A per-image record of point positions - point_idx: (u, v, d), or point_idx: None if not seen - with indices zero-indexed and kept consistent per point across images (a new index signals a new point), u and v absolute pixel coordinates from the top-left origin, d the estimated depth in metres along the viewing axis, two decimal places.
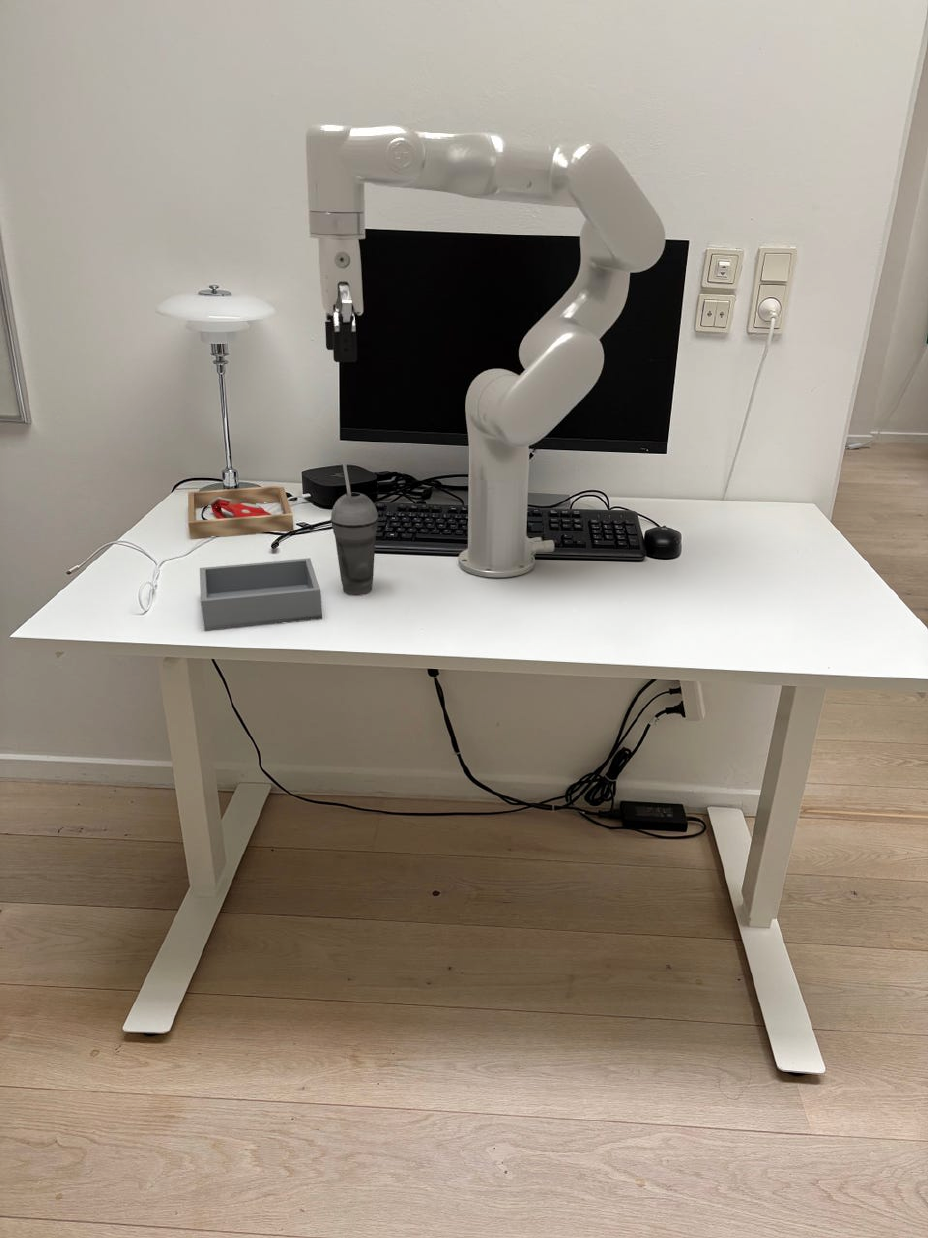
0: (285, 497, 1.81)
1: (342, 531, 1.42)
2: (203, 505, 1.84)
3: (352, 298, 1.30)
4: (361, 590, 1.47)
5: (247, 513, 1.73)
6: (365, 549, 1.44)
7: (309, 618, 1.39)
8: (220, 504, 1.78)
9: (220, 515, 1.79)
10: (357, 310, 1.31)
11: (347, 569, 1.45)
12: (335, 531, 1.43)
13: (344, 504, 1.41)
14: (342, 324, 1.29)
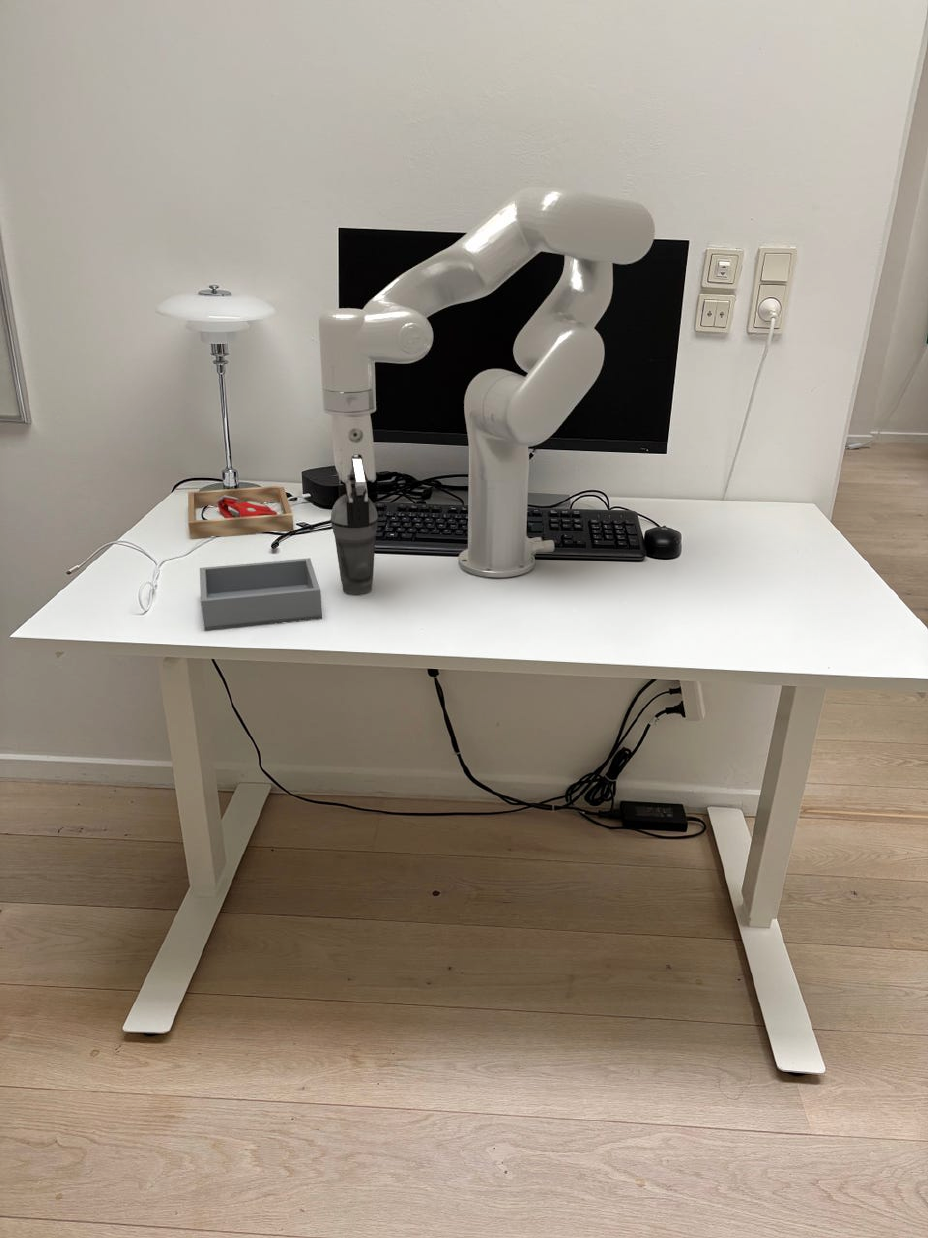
0: (285, 497, 1.81)
1: (342, 531, 1.42)
2: (203, 505, 1.84)
3: (365, 469, 1.36)
4: (361, 590, 1.47)
5: (252, 511, 1.74)
6: (365, 549, 1.44)
7: (309, 618, 1.39)
8: (226, 502, 1.79)
9: (226, 513, 1.80)
10: (370, 479, 1.37)
11: (347, 569, 1.45)
12: (335, 531, 1.43)
13: (343, 504, 1.41)
14: (356, 497, 1.37)
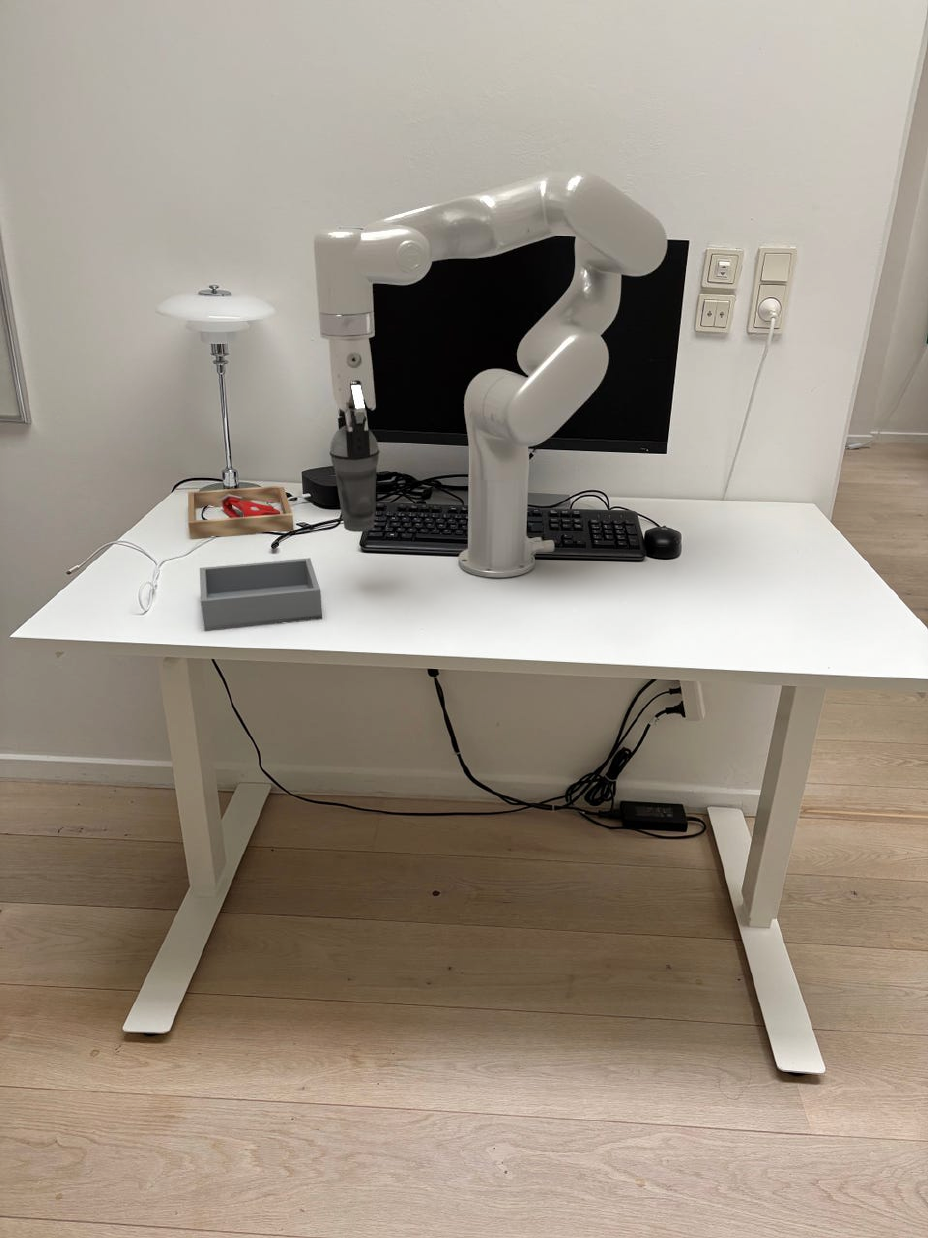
0: (285, 497, 1.81)
1: (342, 463, 1.38)
2: (203, 505, 1.84)
3: (365, 395, 1.32)
4: (363, 526, 1.43)
5: (256, 510, 1.75)
6: (366, 482, 1.40)
7: (309, 618, 1.39)
8: (230, 501, 1.79)
9: (230, 512, 1.80)
10: (370, 406, 1.33)
11: (348, 504, 1.41)
12: (335, 464, 1.39)
13: (343, 435, 1.37)
14: (355, 425, 1.32)
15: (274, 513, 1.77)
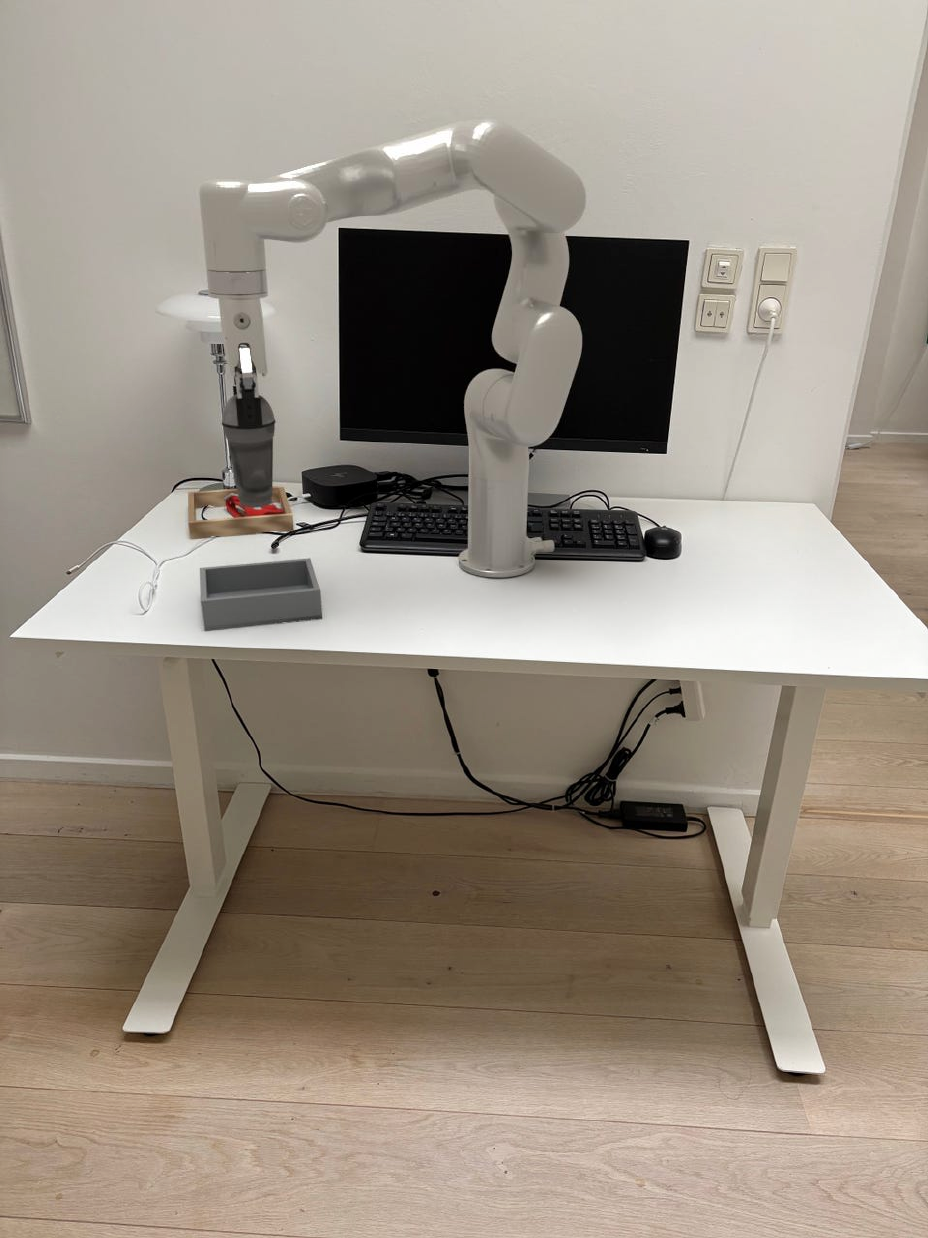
0: (285, 497, 1.81)
1: (233, 433, 1.29)
2: (203, 505, 1.84)
3: (254, 360, 1.23)
4: (258, 501, 1.34)
5: (258, 510, 1.75)
6: (260, 454, 1.31)
7: (309, 618, 1.39)
8: (233, 500, 1.80)
9: (233, 511, 1.81)
10: (260, 372, 1.24)
11: (241, 477, 1.32)
12: (226, 434, 1.30)
13: (234, 403, 1.28)
14: (244, 391, 1.24)
15: (277, 512, 1.78)
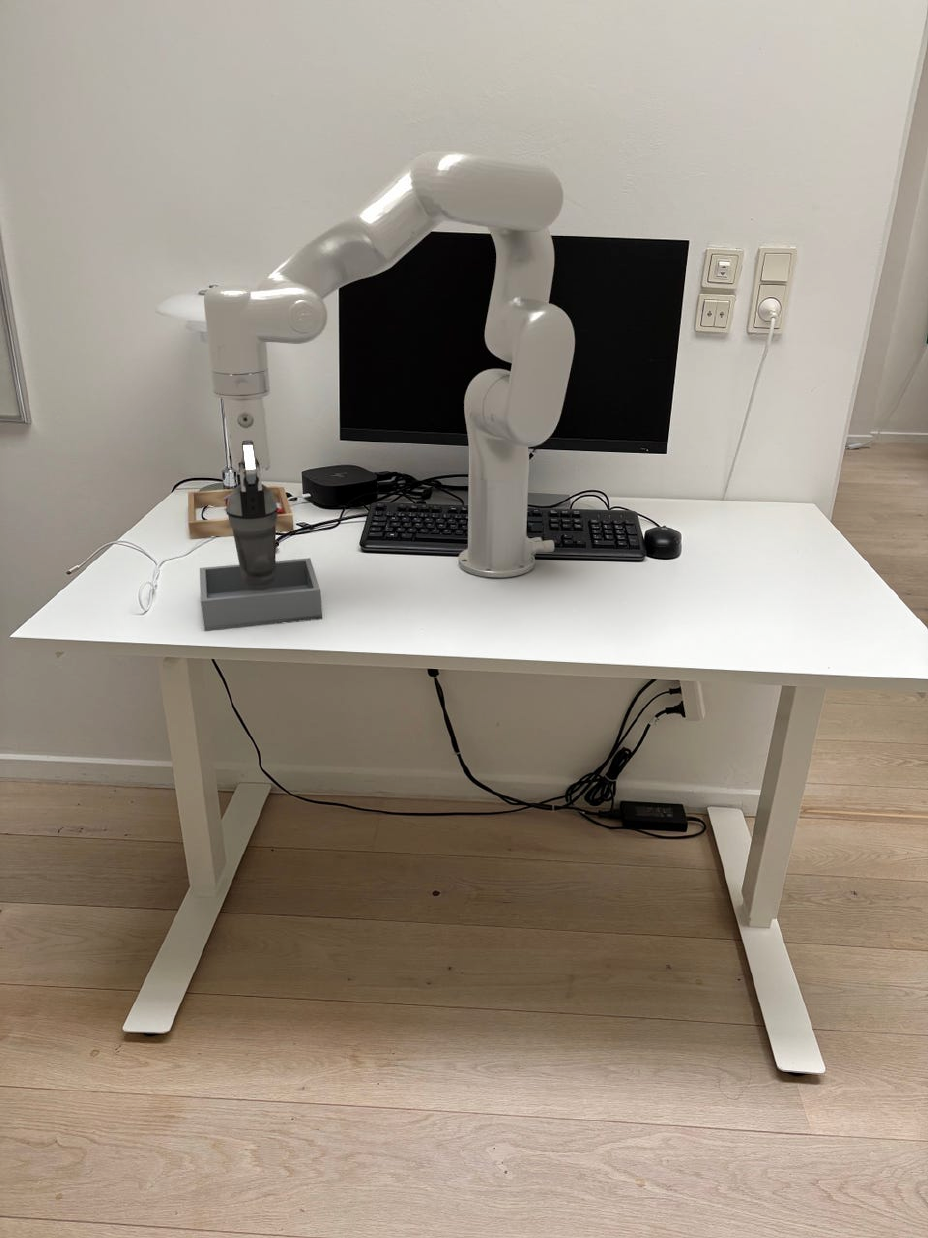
0: (285, 497, 1.81)
1: (237, 522, 1.34)
2: (203, 505, 1.84)
3: (257, 456, 1.29)
4: (261, 585, 1.39)
5: None
6: (263, 541, 1.36)
7: (309, 618, 1.39)
8: None
9: None
10: (263, 467, 1.30)
11: (245, 562, 1.38)
12: (231, 522, 1.35)
13: (238, 494, 1.34)
14: (248, 485, 1.29)
15: None
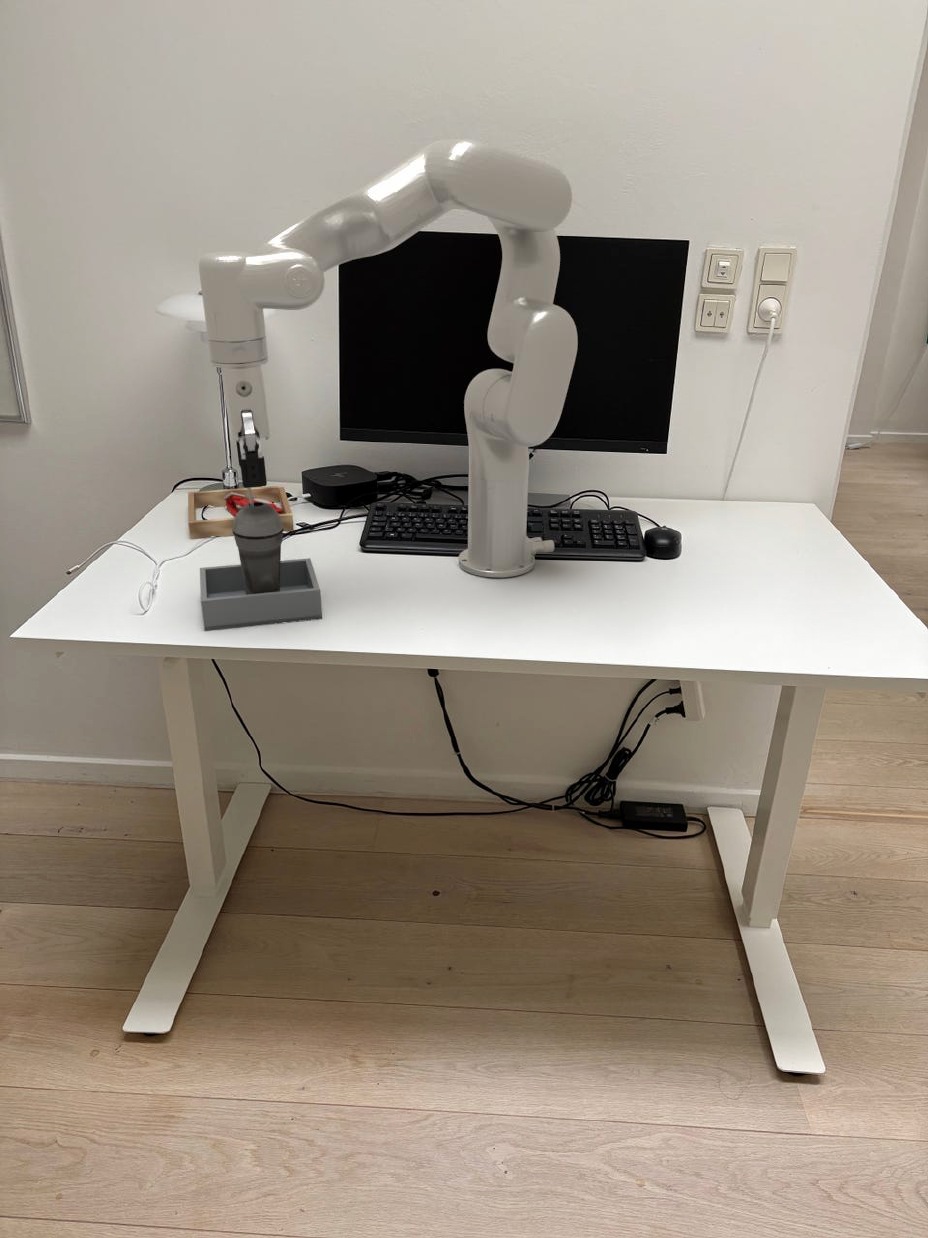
0: (285, 497, 1.81)
1: (243, 542, 1.36)
2: (203, 505, 1.84)
3: (257, 425, 1.27)
4: None
5: None
6: (268, 561, 1.38)
7: (309, 618, 1.39)
8: (233, 499, 1.81)
9: (233, 510, 1.81)
10: (263, 436, 1.28)
11: (250, 582, 1.39)
12: (237, 542, 1.37)
13: (245, 514, 1.35)
14: (248, 452, 1.26)
15: None
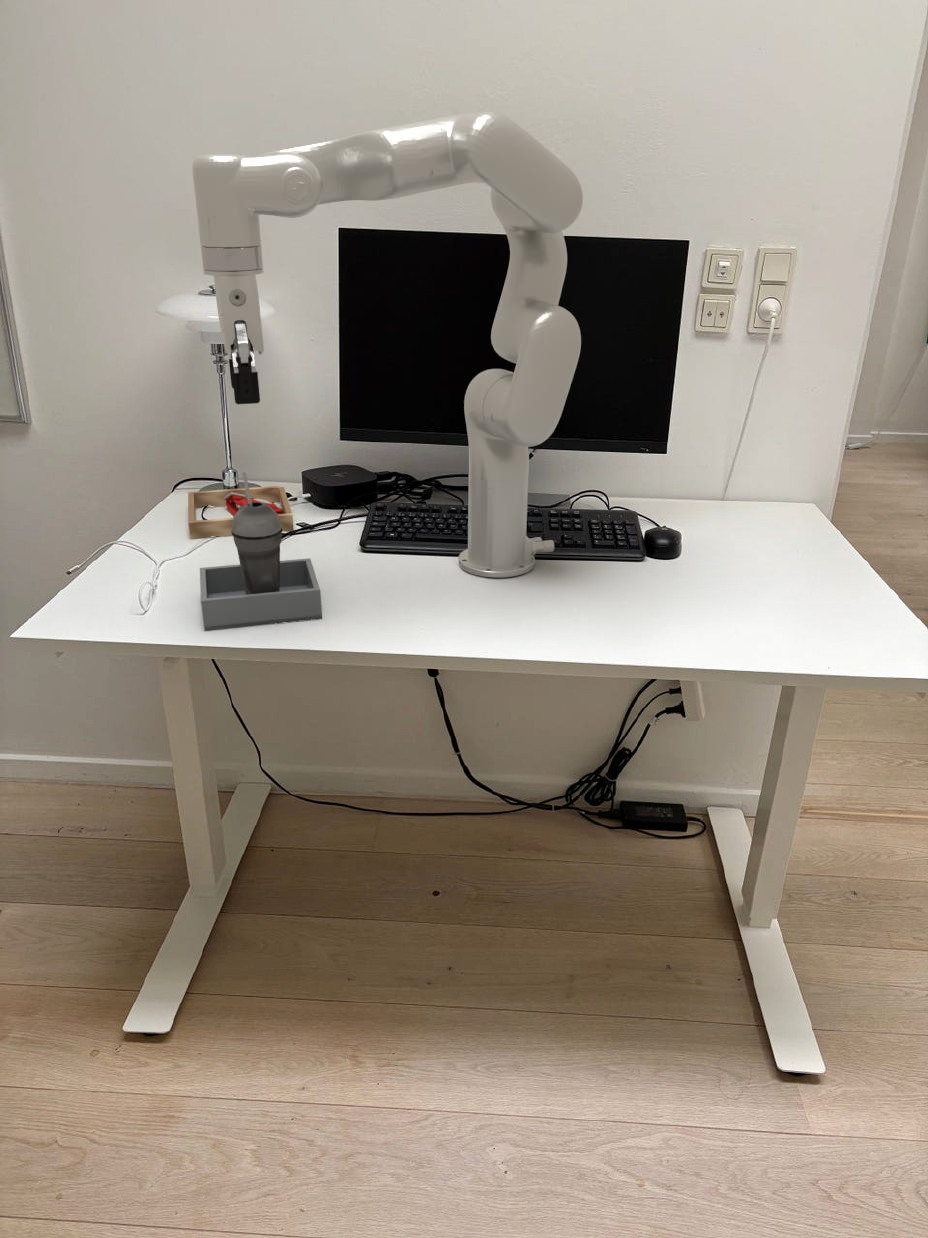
0: (285, 497, 1.81)
1: (242, 543, 1.36)
2: (203, 505, 1.84)
3: (251, 337, 1.22)
4: None
5: None
6: (268, 561, 1.38)
7: (309, 618, 1.39)
8: (234, 499, 1.81)
9: (233, 510, 1.81)
10: (257, 349, 1.23)
11: (250, 582, 1.39)
12: (236, 543, 1.37)
13: (243, 515, 1.35)
14: (240, 365, 1.22)
15: (276, 511, 1.78)
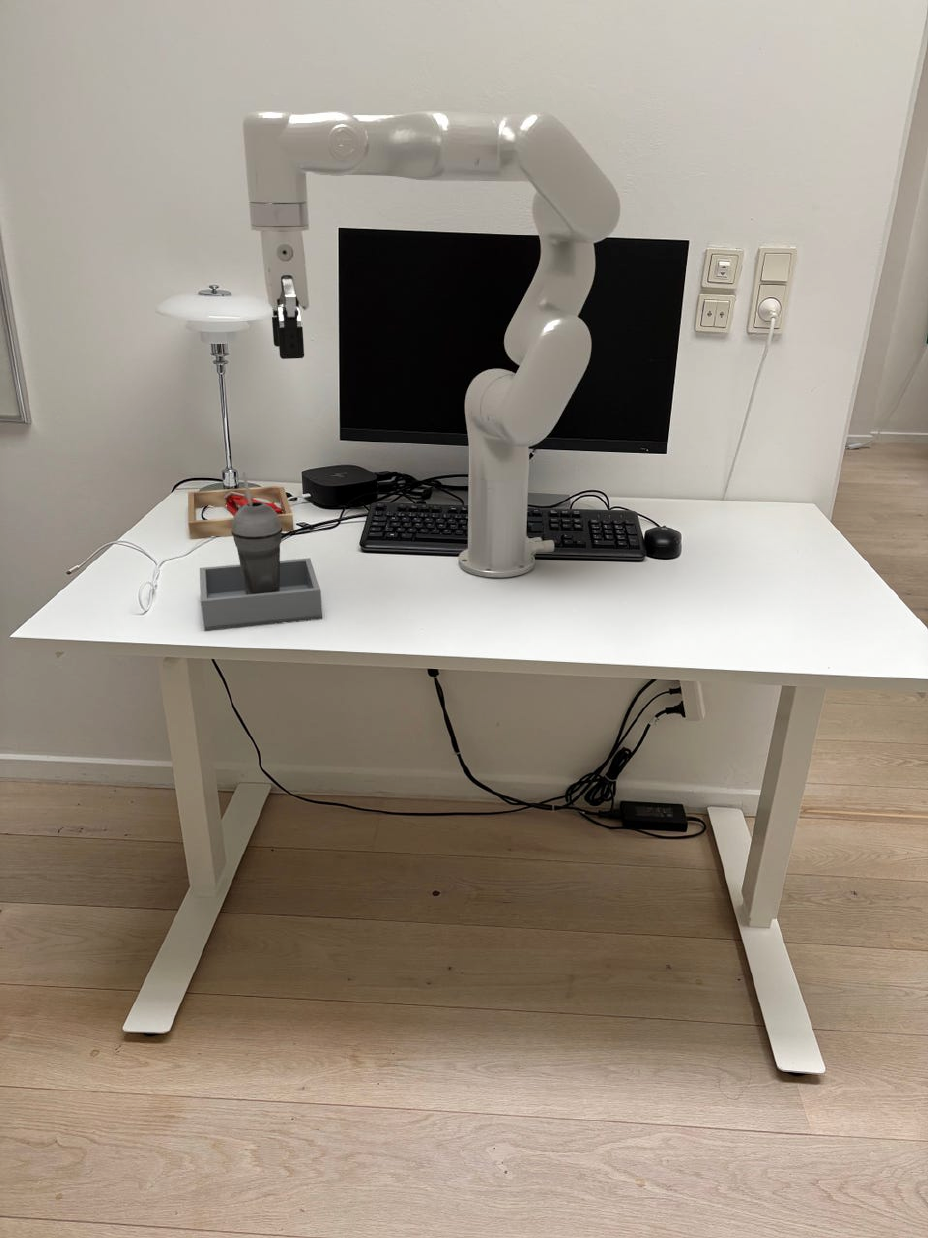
0: (285, 497, 1.81)
1: (242, 542, 1.36)
2: (203, 505, 1.84)
3: (297, 292, 1.25)
4: None
5: None
6: (268, 561, 1.38)
7: (309, 618, 1.39)
8: (233, 498, 1.81)
9: (233, 509, 1.82)
10: (302, 304, 1.26)
11: (250, 582, 1.39)
12: (236, 542, 1.37)
13: (243, 515, 1.35)
14: (287, 319, 1.24)
15: (275, 511, 1.78)
